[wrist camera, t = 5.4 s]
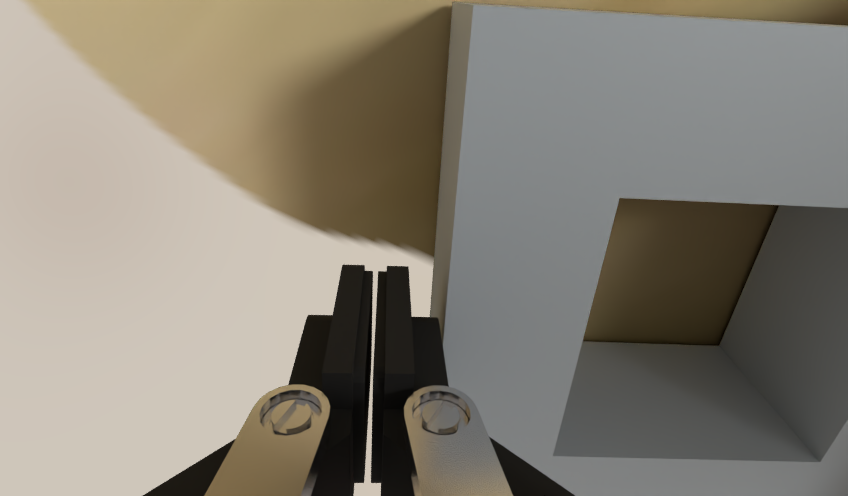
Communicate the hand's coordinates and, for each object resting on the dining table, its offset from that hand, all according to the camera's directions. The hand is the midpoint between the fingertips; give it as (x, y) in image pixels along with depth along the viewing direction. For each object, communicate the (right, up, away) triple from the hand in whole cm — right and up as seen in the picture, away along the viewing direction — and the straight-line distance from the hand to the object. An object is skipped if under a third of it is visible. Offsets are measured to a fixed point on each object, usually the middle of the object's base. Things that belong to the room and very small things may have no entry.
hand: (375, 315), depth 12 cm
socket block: (+9, +2, +4) cm, 10 cm away
